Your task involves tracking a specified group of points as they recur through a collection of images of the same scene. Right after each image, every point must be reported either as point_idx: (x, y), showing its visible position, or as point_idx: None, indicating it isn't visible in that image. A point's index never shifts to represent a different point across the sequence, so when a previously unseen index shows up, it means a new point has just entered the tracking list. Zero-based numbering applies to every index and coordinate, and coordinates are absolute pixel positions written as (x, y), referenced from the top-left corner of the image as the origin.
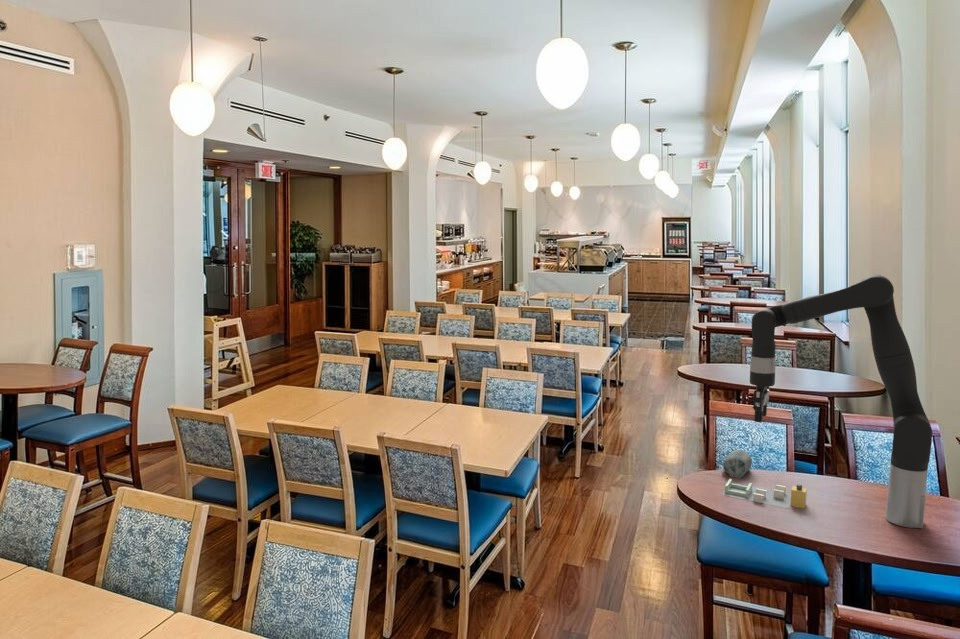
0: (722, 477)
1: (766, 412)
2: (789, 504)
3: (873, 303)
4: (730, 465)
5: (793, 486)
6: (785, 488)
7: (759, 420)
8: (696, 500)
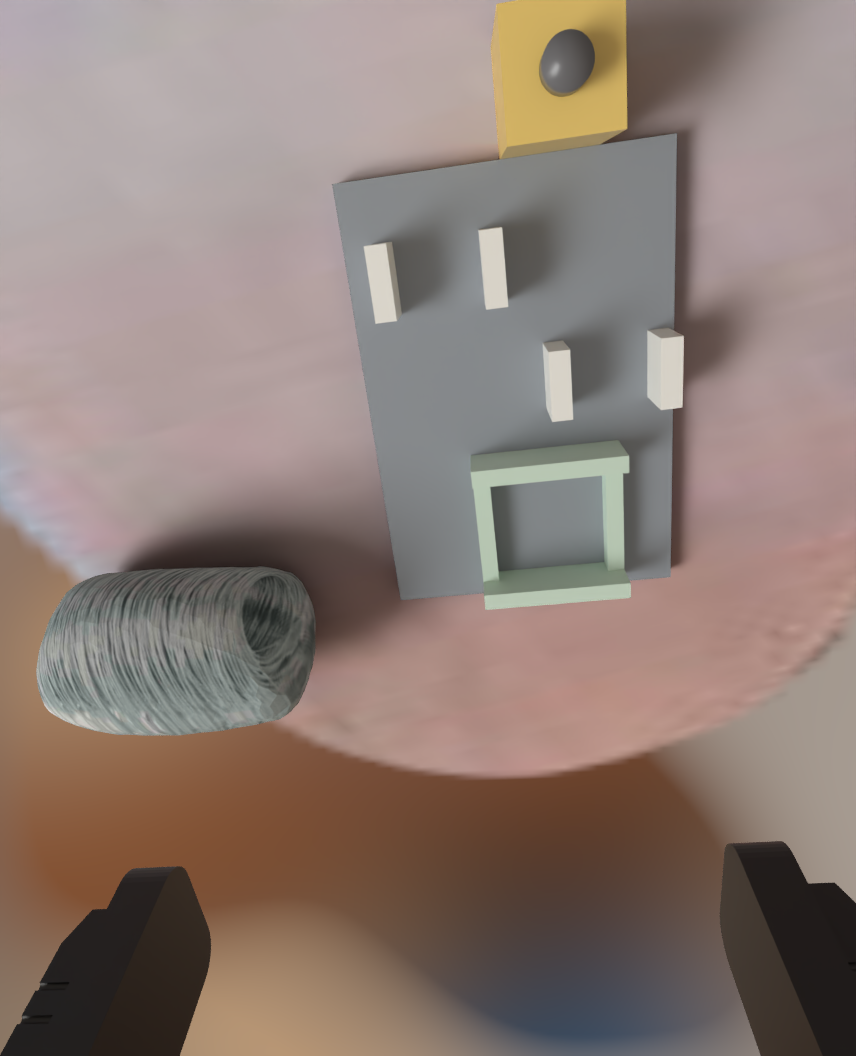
0: (334, 653)
1: (114, 936)
2: (582, 155)
3: None
4: (307, 669)
5: (524, 137)
6: (386, 245)
7: (842, 901)
8: (800, 658)
